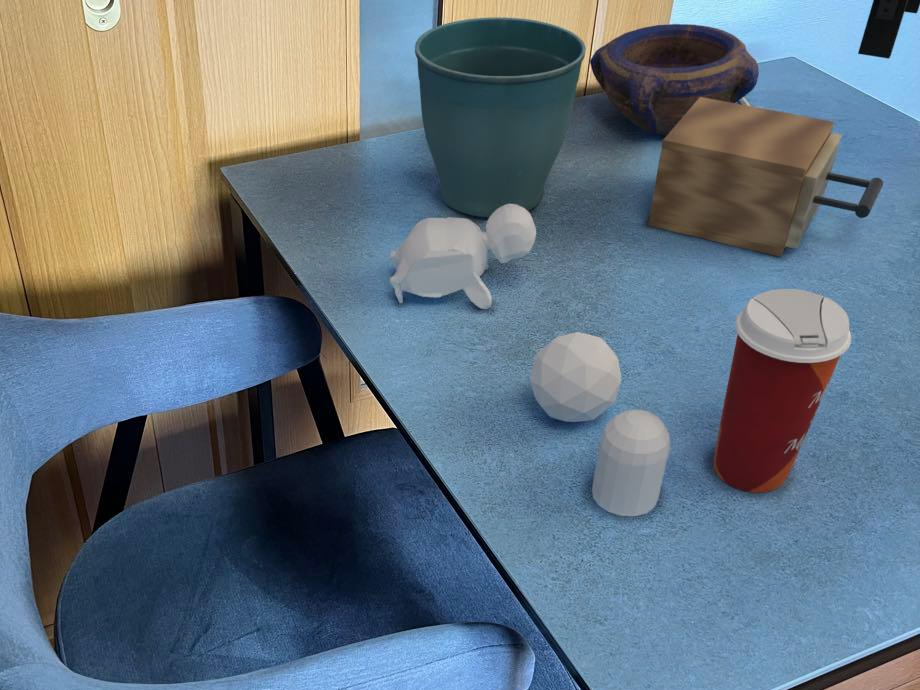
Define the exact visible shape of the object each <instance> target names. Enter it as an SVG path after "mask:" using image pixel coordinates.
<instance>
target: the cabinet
mask: <svg viewBox="0 0 920 690" xmlns="http://www.w3.org/2000/svg"><path fill="white" fill-rule="evenodd" d="M834 127H835V121H832V120H827V119H823V118H822V119H821V118H815V117H812V116H811V117H810V116H805V115H800V114H794V113H789V112H785V111H784V112H783V111H778V110H773V109H766V108H762V107H757V106H752V105H751V106H746V105H742V104H741V103H737V102H736V103H730V102H725V101H719V100H714V99H709V98H703V97H700V98H699V99H698V100H697V101H696V102H695V103H694V105H693V106H692V107H691V108H690V109H689V110H688V112H687V113H686V114H685V115H684V116H683V117H682V119H681V120H680V121H679V122H678V123H677V124H676V126H675V127H674V128H673V129H672V130H671V131H670V133H669V134H668V135H667V136H665V137H664V138H663V139H662V143H661V149H660V154H659V161H658V165H657V172H656V177H655V183H654V187H653V188H654V189H653V194H652V199H651V206H650V210H649V216H648V222H647V226H648V227H653V228H656V229H660V230H665V231H669V232H673V233H678V234H682V235H685V236H691V237H695V238H699V239H702V240H707V241H712V242H715V243H720V244H724V245H728V246H732V247H735V248H736V247H737V248H741V249H745V250H749V251H754V252H758V253H762V254H765V255H771V256H775V257H779V258H781V257H782V255H783V254H784V252H785V250H786V249H787V247H785V243H786V240H787V236H788V233H789V229H790V226H791V222H792V218H793V215H794V211H795V208H796V204H797V201H798V197H799V194H800V190H801V187H802V183H803V180H804V176H805V174H806V173H807V171H808V170H809V168H810V166H811V165H812V163H813V161H814V160H815V158H816V156H817V155H818V153H819V151H820V150H821V148H822V146H823V145H824V143H825V142H826V140H827V138H828V137H829V135H830V133H833V128H834Z"/></svg>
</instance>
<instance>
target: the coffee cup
mask: <svg viewBox="0 0 920 690" xmlns="http://www.w3.org/2000/svg"><path fill="white" fill-rule="evenodd" d="M734 322H735V323H734V327H735V332H736V333H737V335H736V341H735V345H734V349H733V350H734V351H733V355H732V361H731V365H730V371H729V376H728V381H727V385H726V390H725V391H726V392H725V396H724V401H723V407H722V412H721V418H720V421H719V428H718V433H717V438H716V439H717V440H716V443H715V444H716V445H715V450H714V456H713V469H714V472H715V473H716V475H717V477H718V478H719V479H720V480H722V482H723V483H725V484H727V485H728V486H730V487H732V488H734V489H736V490H739V491H742V492H747V493H753V494H754V493H755V494H757V493H758V494H762V493H768V492H772V491H775V490H777V489H779V488H781V487H782V486H783V485H784V483H785V482H786V480H787V479H788V477H789V475H790V473H791V471H792V468H793V466H794V465H795V461H796V460H797V458H798V455H799V453H800V451H801V448H802V446H803V443H804V442H805V439H806V437H807V434H808V432H809V430H810V427H811V425H812V423H813V420H814V419H815V416H816V413H817V411H818V409H819V406H820V404H821V401H822V399H823V397H824V395H825V392H826V390H827V387H828V385H829V383H830V380H831V379H832V376H833V373H834V372H835V369H836V367H837V365H838V362H839V360H840V357H841V356H842V355H843V354H845V353H846V352H847V350H849V348H850V346H851V343H852V334H851V330H850V325H851V324H850V323H851V322H850V318H849V315H848V314H847V312H846V311H845V310H844V308H843V307H842V306H841V305H840V304H838V303H837V302H836V301H834V300H832V299H831V298H829V297H827V296H825V295H821V294H819V293H814V292H811V291H808V290H803V289H795V288H777V289H770V290H767V291H763V292H761V293H759V294H757V295H755V296H754V297H752V298H750V299H749V300H748V302H747V303H746V305H745V307H744V308H743V309H742V310H740V311H739V313H737V316H736V318H735V321H734Z"/></svg>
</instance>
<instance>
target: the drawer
mask: <svg viewBox="0 0 920 690" xmlns="http://www.w3.org/2000/svg"><path fill="white" fill-rule="evenodd" d="M842 137H843V134H840V133H834V132H831V133H830V135H829V137H828V138H827V140H826V142H825V143H824V145H823V146H822V148H821V150H820V151H819V153H818V155H817V156H816V158H815V160H814V161H813V163H812V165H811V166H810V168H809V170H808V171H807V173H806V174H805V176H804V180H803V183H802V187H801V190H800V194H799V197H798V201H797V204H796V208H795V211H794V215H793V218H792V222H791V226H790V229H789V233H788V236H787V240H786V243H785V247H786V248H789V249H793V250H797V248H798V246H799V244H800V243H801V241H802V239H803V238H804V236H805V234H806V232H807V230H808V228H809V227H810V225H811V223H812V221H813V219H814V218H815V216H816V214H817V212H818V211H819V209H820V207H821V205H822V206H827V207H832V208H836V209H840V210H844V211H848V212H849V211H850V212H854V214H855V216H856V217H858V218H859V219H864V218H865V219H866V218H867V217H868V216H869V215H870V213H871V211H872V209H873V206H874V205H875V202H876V201H877V198H878V197H879V195H880V193H881V190H882V188H883V185H884V180H883V179H881V177H873V178H871V179H869V180H868V179H864V178H863V179H862V178H857V177H854V176H849V175H844V174H839V173H834V172H832V170H833V167H834V164H835V161H836V156H837V153H838V151H839V147H840V144H841V141H842ZM829 181H831V182H836V183H840V184H846V185H851V186H855V187H860V188H865V190H864V192H863V194H862V196H861V198H860V200H859V202H858V203H853V202H849V201H845V200H839V199H835V198H830V197H825V194H826V190H827V188H828V187H827V186H828V184H829Z"/></svg>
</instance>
